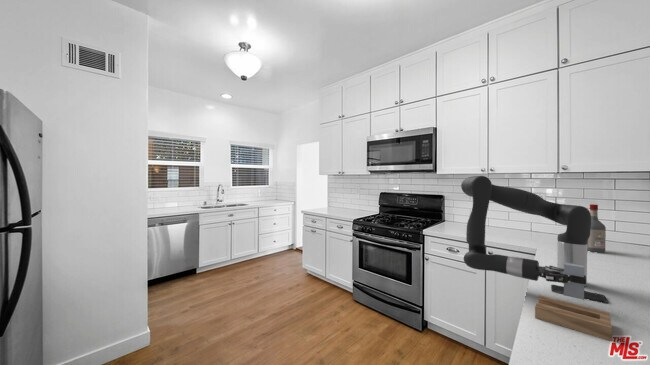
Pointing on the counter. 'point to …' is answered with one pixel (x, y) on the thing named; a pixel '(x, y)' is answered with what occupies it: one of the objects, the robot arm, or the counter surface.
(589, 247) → the liquor
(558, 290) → the phone
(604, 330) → the rack
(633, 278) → the counter surface
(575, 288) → the domino
